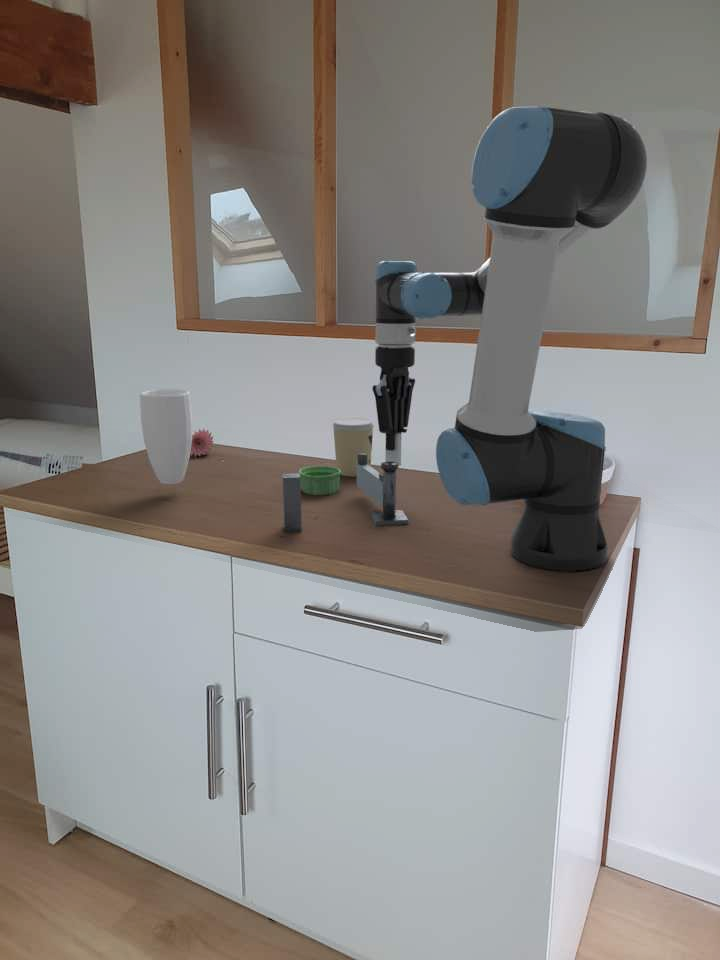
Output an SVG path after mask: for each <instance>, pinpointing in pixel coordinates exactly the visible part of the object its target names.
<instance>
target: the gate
mask: <svg viewBox="0 0 720 960" xmlns="http://www.w3.org/2000/svg"><path fill="white" fill-rule="evenodd" d="M356 486H357V488H359V490H361V491H362V492H363V493H365V494H366V496H368V497H369V498H371V500H373V501H374V502H375V503H376V504H377V505H379V506H380V507H381V508H383V472H382V473H381V472H379V471H377V469H375V468H374V467H372V466H371V465H370V466H369V465H368V464H367V454H366V453H359V454H358V462H357V476H356Z"/></svg>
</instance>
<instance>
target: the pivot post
mask: <svg viewBox="0 0 720 960" xmlns="http://www.w3.org/2000/svg"><path fill="white" fill-rule="evenodd" d="M380 467H381V469H382V473H383V507H382V510H376V511H375V510H374V511H370V517H371V518H372V520H373V523H374V524H375V526H393V525H409V519H408V517H407V516H406V514H405V513H404V511H403V510H402V509H398V510H397V470H399V466H398V463H397V462H385V461H384V462H381V464H380Z"/></svg>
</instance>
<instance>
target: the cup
mask: <svg viewBox="0 0 720 960" xmlns="http://www.w3.org/2000/svg"><path fill="white" fill-rule="evenodd" d="M139 400H140V401H139V403H140V404H139V405H140V421H141V422H140V423H141V430H142V436H143V442H144V445H145V449H146V452H147V456H148V460H149V462H150V465H151V467H152V469H153V471H154V474H155V475H156V477H157V479H158V481H159V483H161V484H164V485H175V484H179V483H182V482H183V481H184V478H185V475H186V473H187V469H188V464H189V461H190V456H191V452H192V451H191V443H192V435H193V413H192V405H191V404H192V401H191V394H190V391H188V390H186V389H180V388H178V389H177V388H161V389H160V388H159V389H152V390H146V391H143V392H141V393H140V395H139Z"/></svg>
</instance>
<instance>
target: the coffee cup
mask: <svg viewBox="0 0 720 960" xmlns="http://www.w3.org/2000/svg"><path fill="white" fill-rule="evenodd" d="M374 426H375V425H374V423H373V421H372V420H371V419H368V418H359V417H358V418H357V417H352V418H351V417H349V418H347V417H346V418H339V419H336V420H334V421H333V425H332V428H333V437H334V450H335V451H334V454H335V464H336V468H339V469H340V470H341V474H340V476H345V477H357V462H358V454H359V453H366V454H367V464H368V465H369V466H370V467H371V465H372V464H371V463H372V462H371V461H372V452H373V451H372V449H373V433H374V432H373V431H374Z"/></svg>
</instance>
